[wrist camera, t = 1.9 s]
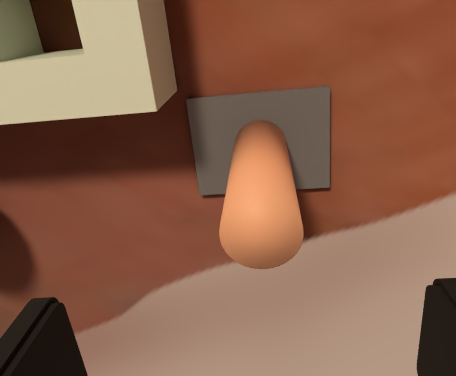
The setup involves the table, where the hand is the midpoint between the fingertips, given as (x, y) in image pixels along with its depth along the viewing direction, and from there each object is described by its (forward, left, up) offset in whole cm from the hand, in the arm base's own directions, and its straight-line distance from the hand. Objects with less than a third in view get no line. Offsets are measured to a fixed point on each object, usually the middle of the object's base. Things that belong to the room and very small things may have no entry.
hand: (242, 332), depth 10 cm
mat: (-1, 0, -15) cm, 15 cm away
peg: (-1, 0, -14) cm, 14 cm away
